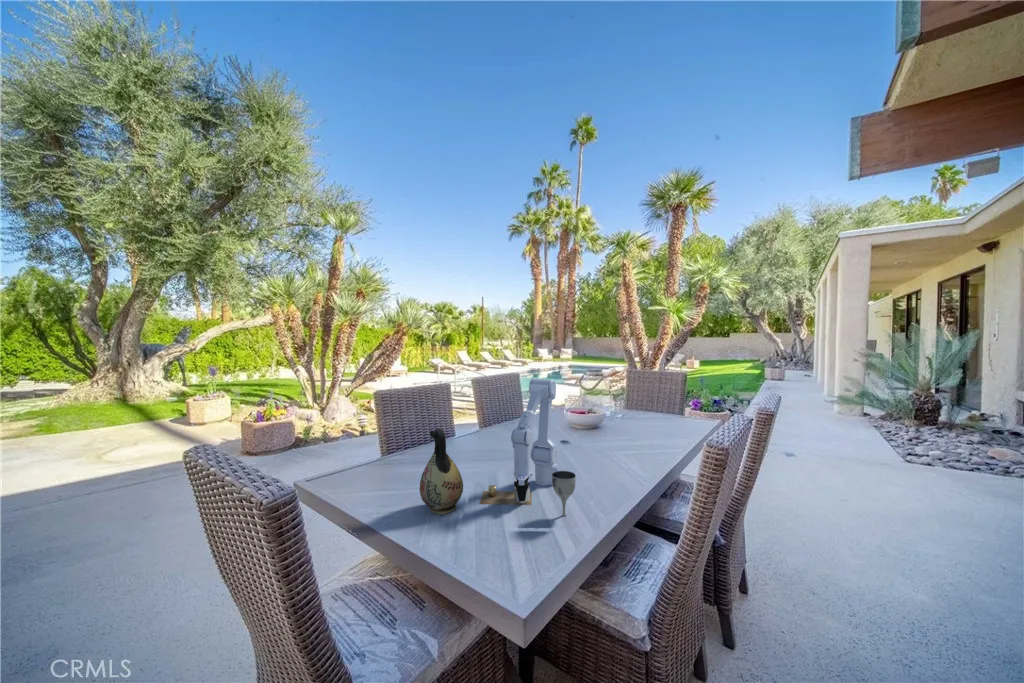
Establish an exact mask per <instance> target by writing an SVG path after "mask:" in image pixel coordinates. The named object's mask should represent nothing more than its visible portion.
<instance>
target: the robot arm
mask: <svg viewBox="0 0 1024 683" xmlns="http://www.w3.org/2000/svg"><path fill="white" fill-rule="evenodd" d="M528 392H529V394H530V396H529V399H528V402H527V406H526V410H524V411H522V413H521V415H520V417H519V421H518V424H517V426H516V428H515V429H513V430H512V432H511V436H510V440H511V443H512V449H513V452H514V453H513V457H514V458H513V465H514V466H513V468H514V470H513V471H514V472H513V476H514V477H515V481H513V485H514V488H515V487H516V490H517V494H518V499H519V501H525V498H526V492H527V489H528V487H529V486H530V484H531V483H530V482H529V479H530V476H531V477H532V476H533V475H534V479H533V481H534V482H535V484H536V485H538V486H544V487H545V486H553V484H552V473H553V472H556V471H558V463H556V461H557V458H558V453H557V452H558V451H557V445H556V443H554V442H553V441H552V440H551V424H552V423H551V422H552V405H553V400H555V399H556V392H557V385H556V382H555V380H554V379H544V378H543V379H542V378H531V379H530V381H529V384H528ZM538 407H539V414H538V432H537V435H538V436H537V439H536V440H535V441H534V442H533V433H534V430H533V428H534V426H535V423H536V420H537V414H536V412H537V410H538ZM531 443H532V445H531ZM530 445H531V449H530ZM530 459H531V461H532V462H533V464H534V472H533V471H531V469H530V468H531V466H530V465H531V464H530V463H531V462H530Z"/></svg>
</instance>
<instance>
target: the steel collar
mask: <svg viewBox="0 0 1024 683" xmlns="http://www.w3.org/2000/svg"><path fill="white" fill-rule="evenodd" d="M513 488H514V491H515V502H516V503H519V504H526V503H528V502H530V492H531V490H530V485H529V487H528V489H527V492H526V498H525V501H519V499H518V494H517V490H516V487H515V486H514V487H513Z"/></svg>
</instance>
